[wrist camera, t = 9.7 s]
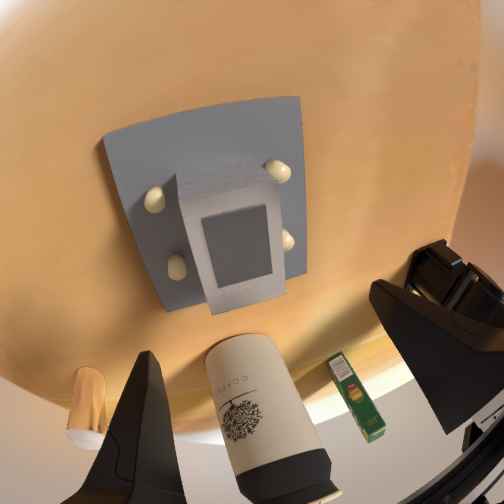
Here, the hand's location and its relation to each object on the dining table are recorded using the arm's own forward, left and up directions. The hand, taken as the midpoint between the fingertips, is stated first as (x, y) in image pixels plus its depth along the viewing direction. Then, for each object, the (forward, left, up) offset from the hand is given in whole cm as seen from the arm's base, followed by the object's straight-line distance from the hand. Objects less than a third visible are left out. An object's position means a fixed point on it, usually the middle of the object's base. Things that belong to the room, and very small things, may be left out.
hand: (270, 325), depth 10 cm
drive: (0, 0, -10) cm, 10 cm away
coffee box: (-28, -12, -11) cm, 32 cm away
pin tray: (0, 0, -11) cm, 11 cm away
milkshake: (-15, +18, -11) cm, 26 cm away
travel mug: (-17, +1, -11) cm, 20 cm away
